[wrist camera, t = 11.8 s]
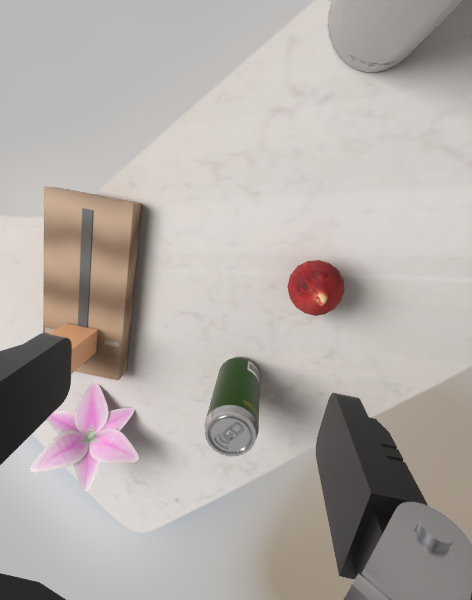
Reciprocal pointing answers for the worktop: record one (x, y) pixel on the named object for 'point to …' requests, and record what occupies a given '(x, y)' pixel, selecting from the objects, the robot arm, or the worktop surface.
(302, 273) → the onion
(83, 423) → the lily
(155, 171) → the worktop surface
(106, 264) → the fader base
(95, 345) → the fader knob
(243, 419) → the green soda can
